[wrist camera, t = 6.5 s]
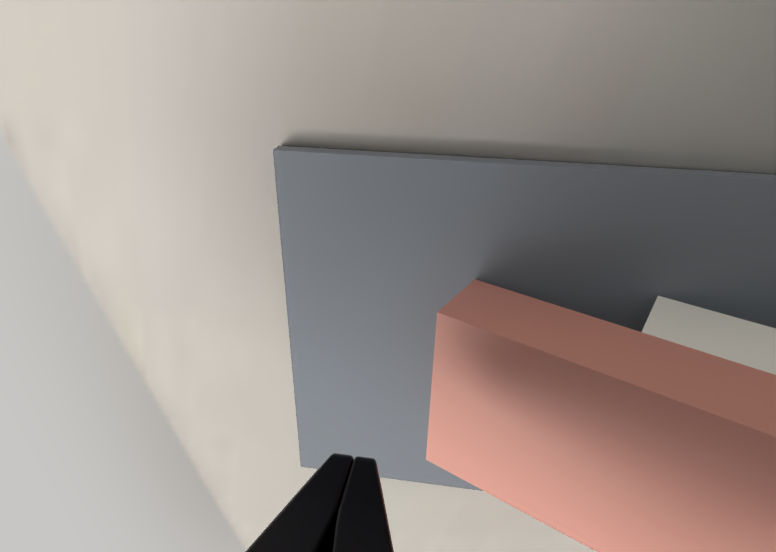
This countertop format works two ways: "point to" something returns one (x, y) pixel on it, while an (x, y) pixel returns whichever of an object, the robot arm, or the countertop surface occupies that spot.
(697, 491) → the domino
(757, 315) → the slate mat
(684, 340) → the domino
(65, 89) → the countertop surface
